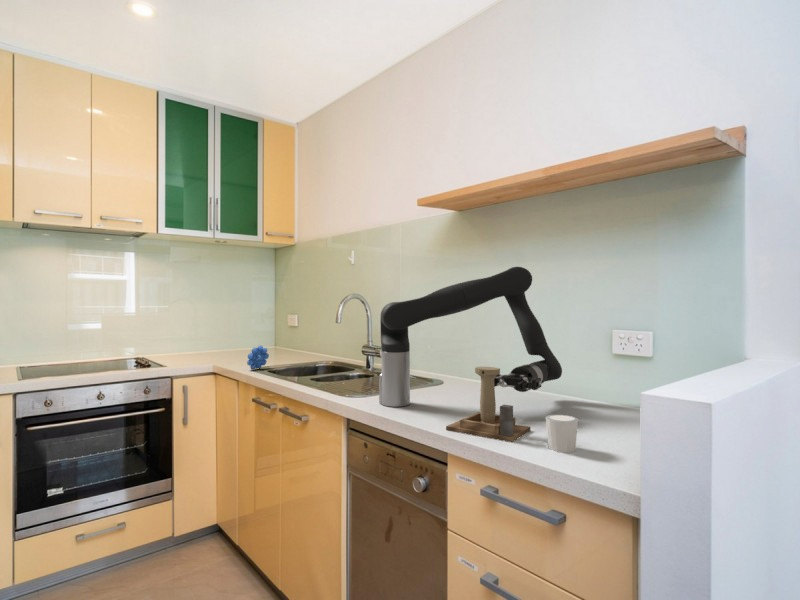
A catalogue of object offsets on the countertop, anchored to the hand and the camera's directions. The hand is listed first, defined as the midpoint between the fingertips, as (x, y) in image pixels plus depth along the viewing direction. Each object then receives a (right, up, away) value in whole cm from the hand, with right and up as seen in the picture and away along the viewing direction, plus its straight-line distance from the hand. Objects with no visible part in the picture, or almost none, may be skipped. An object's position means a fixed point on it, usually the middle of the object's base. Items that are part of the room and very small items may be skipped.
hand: (504, 385), depth 127 cm
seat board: (-6, -10, -8) cm, 14 cm away
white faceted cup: (+8, -10, -23) cm, 27 cm away
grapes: (-101, -11, +103) cm, 144 cm away
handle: (-6, -9, -8) cm, 14 cm away
